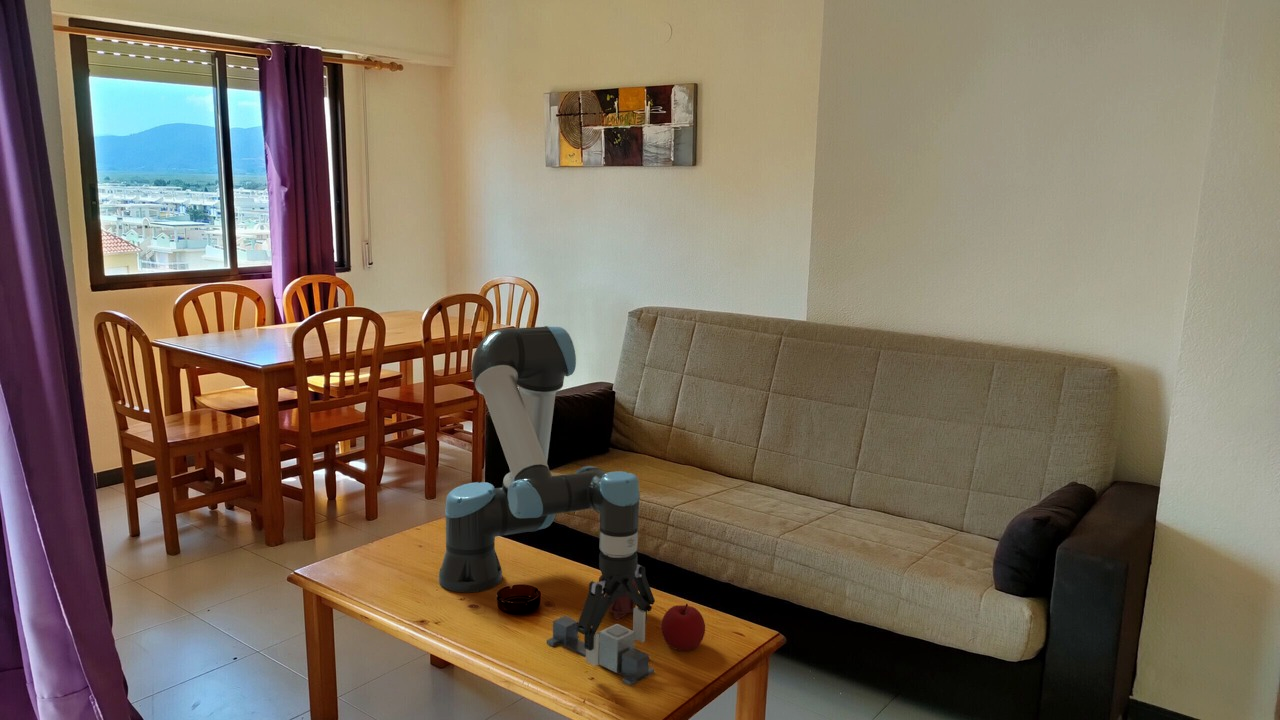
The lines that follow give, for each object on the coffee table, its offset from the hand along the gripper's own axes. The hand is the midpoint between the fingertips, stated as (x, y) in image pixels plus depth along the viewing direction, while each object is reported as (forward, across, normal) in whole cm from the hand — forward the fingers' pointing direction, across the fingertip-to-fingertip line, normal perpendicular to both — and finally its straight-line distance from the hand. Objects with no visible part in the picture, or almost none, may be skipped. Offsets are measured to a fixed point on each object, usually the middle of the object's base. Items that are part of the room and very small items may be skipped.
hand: (616, 651), depth 182 cm
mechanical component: (+3, +18, +16) cm, 24 cm away
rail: (+3, 0, +5) cm, 6 cm away
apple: (+3, +16, -4) cm, 17 cm away
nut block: (+3, 0, 0) cm, 3 cm away
